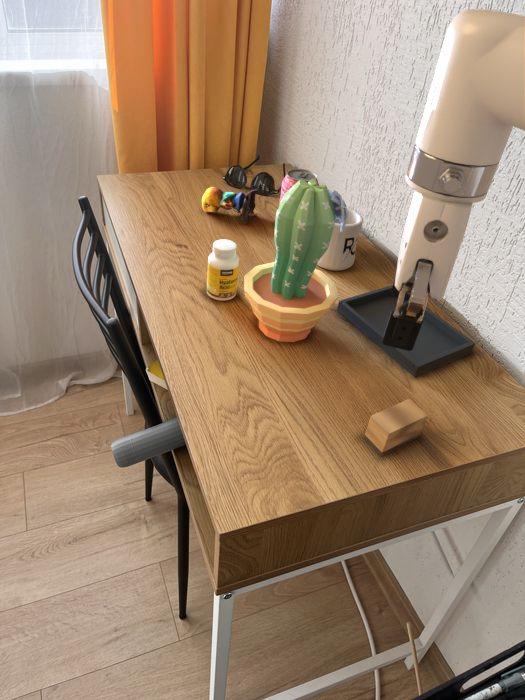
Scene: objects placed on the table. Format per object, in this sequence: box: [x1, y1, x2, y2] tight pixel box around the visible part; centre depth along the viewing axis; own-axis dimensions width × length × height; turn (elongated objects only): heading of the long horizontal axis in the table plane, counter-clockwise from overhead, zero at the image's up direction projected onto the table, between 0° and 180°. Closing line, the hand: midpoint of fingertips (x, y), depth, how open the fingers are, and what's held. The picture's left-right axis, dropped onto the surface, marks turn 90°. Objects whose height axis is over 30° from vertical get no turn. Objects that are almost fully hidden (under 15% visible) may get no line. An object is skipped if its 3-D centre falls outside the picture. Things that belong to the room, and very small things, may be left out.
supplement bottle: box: [206, 238, 240, 302], centre depth 92 cm, size 5×5×10 cm
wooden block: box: [363, 398, 429, 457], centre depth 70 cm, size 7×4×4 cm, turn 122°
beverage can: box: [278, 168, 320, 207], centre depth 114 cm, size 8×8×12 cm
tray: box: [336, 284, 476, 378], centre depth 90 cm, size 20×14×2 cm
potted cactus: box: [243, 179, 348, 343], centre depth 81 cm, size 15×15×25 cm
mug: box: [316, 207, 364, 272], centre depth 106 cm, size 12×9×10 cm
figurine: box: [201, 186, 258, 225], centre depth 118 cm, size 11×8×6 cm, turn 66°
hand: (400, 320), depth 59 cm, fingers open, 9 cm apart
